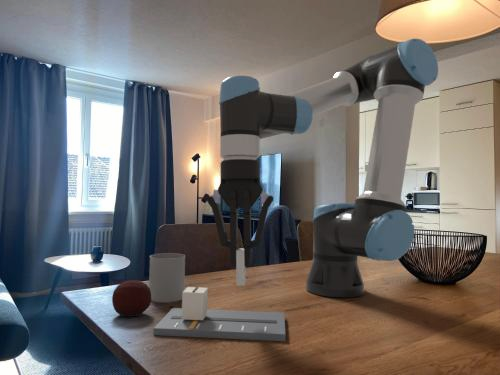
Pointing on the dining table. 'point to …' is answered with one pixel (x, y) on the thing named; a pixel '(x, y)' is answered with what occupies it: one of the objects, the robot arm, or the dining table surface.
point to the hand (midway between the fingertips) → (241, 283)
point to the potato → (131, 298)
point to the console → (225, 325)
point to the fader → (194, 303)
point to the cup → (166, 277)
